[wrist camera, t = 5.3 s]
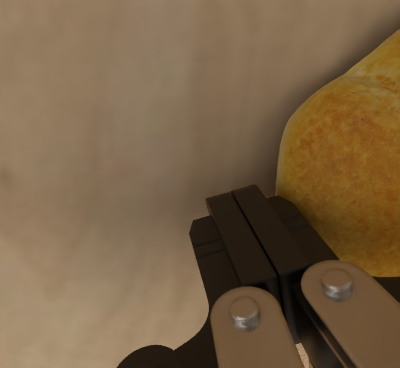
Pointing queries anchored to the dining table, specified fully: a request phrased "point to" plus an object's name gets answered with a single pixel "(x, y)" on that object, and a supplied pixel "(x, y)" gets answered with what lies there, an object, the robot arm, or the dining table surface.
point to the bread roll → (350, 162)
